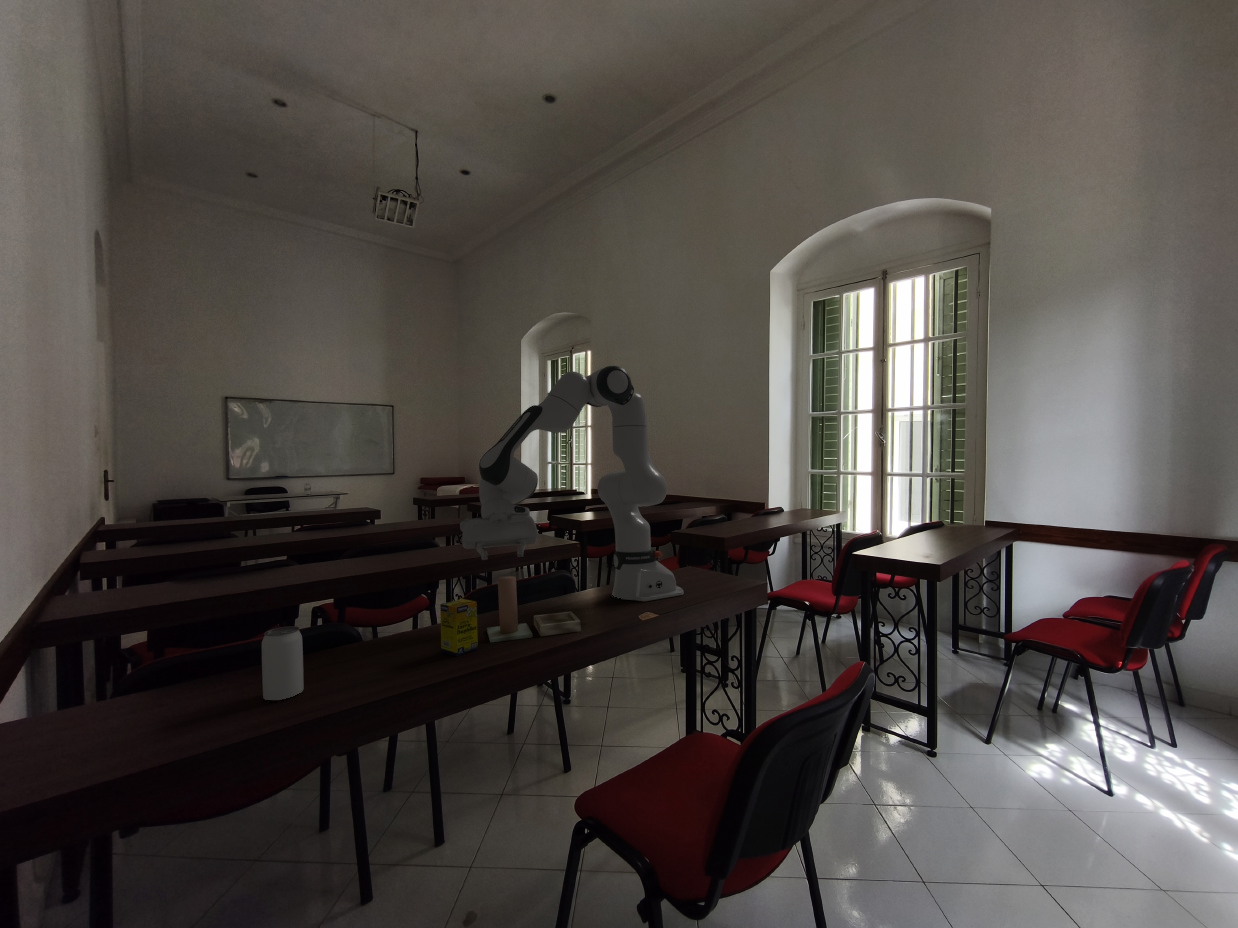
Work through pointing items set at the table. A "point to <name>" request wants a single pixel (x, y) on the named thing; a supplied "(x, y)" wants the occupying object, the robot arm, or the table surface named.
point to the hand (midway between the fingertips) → (503, 556)
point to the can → (282, 663)
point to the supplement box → (459, 627)
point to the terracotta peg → (507, 604)
